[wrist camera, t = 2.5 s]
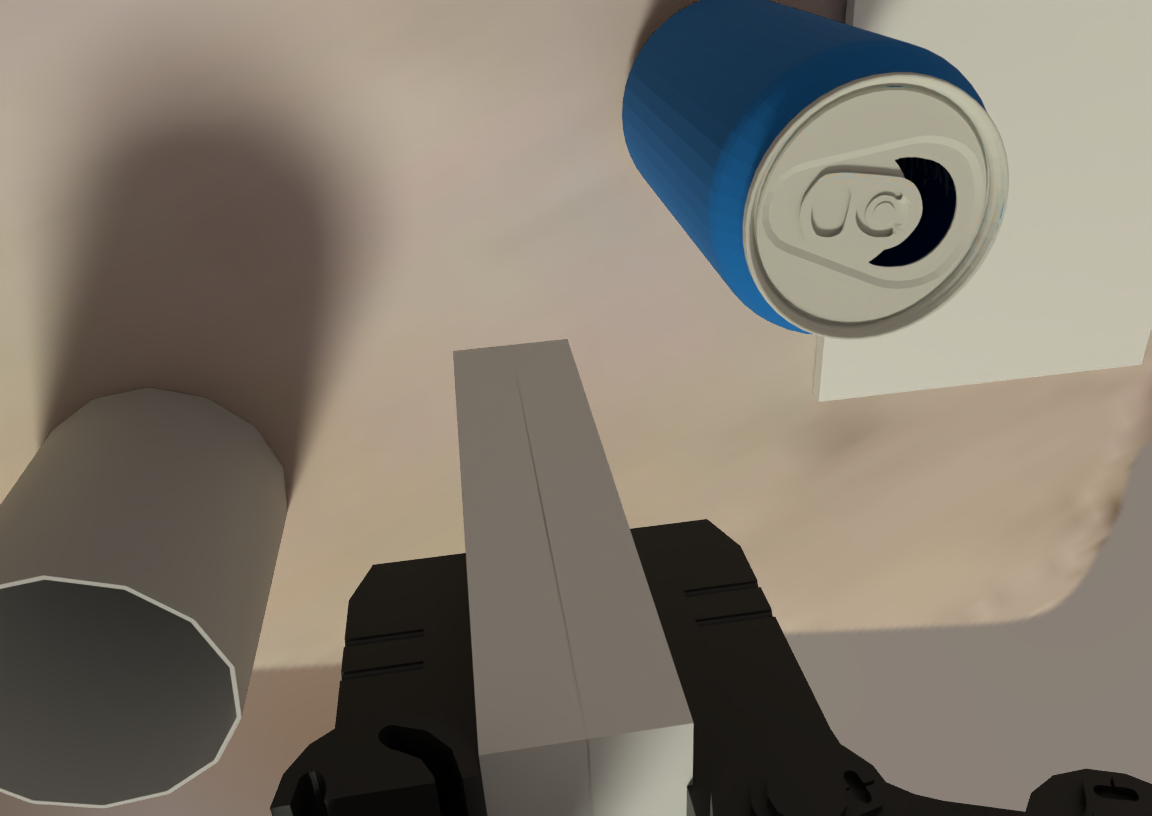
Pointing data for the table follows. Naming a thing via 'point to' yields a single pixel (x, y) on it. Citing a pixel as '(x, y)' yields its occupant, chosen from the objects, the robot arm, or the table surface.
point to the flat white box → (1033, 198)
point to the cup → (132, 597)
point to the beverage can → (817, 164)
